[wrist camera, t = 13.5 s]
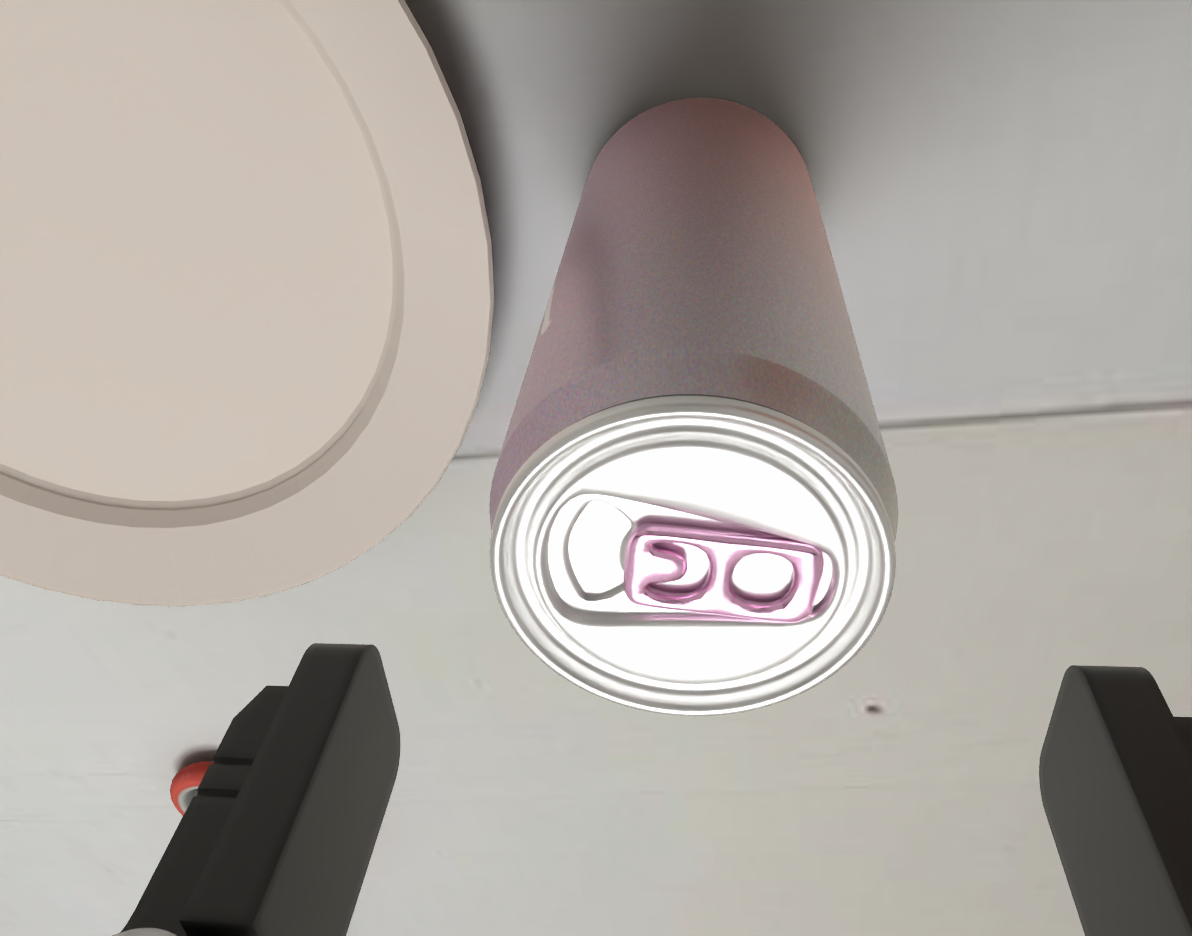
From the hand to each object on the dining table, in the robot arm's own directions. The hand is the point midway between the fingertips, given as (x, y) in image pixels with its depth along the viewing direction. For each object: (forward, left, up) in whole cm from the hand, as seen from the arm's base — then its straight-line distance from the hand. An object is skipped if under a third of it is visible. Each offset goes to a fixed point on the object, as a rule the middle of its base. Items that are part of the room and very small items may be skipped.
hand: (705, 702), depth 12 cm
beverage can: (0, 0, -17) cm, 17 cm away
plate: (+18, 0, -17) cm, 25 cm away
